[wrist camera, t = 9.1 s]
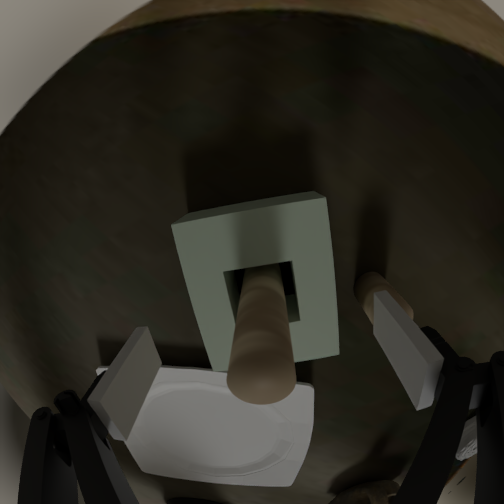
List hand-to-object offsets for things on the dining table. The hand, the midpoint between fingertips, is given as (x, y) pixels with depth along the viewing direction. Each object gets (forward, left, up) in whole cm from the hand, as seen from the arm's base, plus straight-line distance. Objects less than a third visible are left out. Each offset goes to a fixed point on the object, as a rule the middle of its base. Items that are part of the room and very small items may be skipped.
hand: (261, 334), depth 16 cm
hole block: (0, 0, -9) cm, 9 cm away
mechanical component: (+30, -36, -9) cm, 48 cm away
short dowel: (+9, -3, -9) cm, 13 cm away
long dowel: (0, 0, -9) cm, 9 cm away
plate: (-10, -20, -9) cm, 24 cm away
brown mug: (+11, -43, -9) cm, 45 cm away
